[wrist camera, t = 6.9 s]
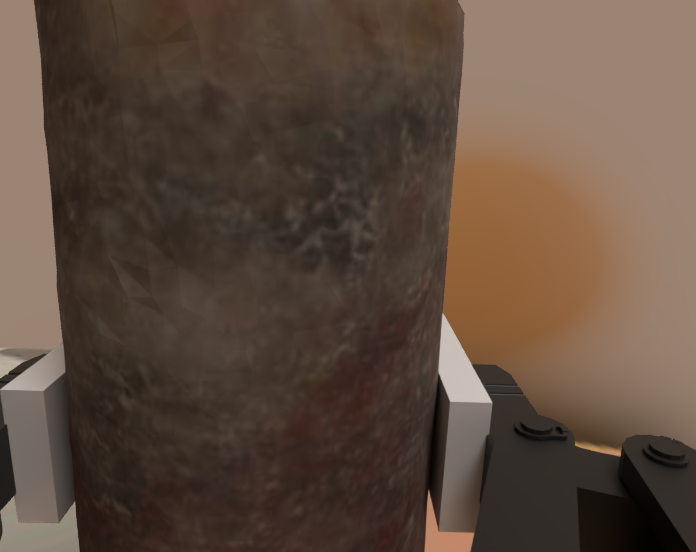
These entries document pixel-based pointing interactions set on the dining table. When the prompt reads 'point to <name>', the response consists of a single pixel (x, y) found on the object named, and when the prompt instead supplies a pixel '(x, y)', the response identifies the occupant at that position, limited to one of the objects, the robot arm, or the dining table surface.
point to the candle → (251, 265)
